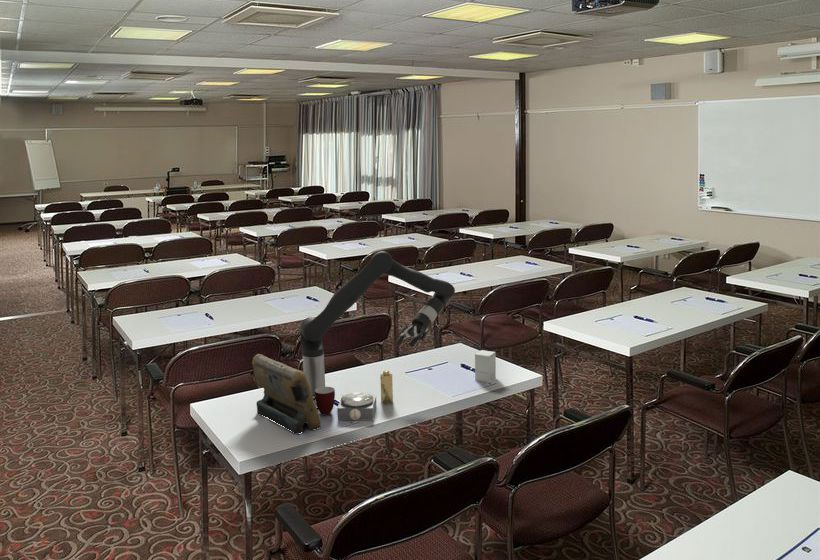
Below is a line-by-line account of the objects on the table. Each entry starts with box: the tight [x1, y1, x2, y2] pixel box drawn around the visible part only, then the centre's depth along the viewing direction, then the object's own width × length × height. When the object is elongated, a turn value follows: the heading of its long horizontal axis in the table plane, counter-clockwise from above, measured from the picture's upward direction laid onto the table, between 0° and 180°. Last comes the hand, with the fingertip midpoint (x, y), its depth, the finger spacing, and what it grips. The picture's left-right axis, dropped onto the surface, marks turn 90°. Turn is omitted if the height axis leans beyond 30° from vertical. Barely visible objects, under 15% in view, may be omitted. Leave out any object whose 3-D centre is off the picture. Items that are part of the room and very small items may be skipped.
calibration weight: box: [379, 369, 394, 405], centre depth 284 cm, size 5×5×14 cm
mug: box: [313, 386, 336, 416], centre depth 273 cm, size 10×8×10 cm
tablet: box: [251, 353, 322, 434], centre depth 266 cm, size 33×14×25 cm, turn 48°
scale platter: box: [340, 391, 373, 407], centre depth 273 cm, size 13×13×1 cm
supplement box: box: [474, 349, 497, 383], centre depth 309 cm, size 7×7×13 cm
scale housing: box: [336, 394, 377, 421], centre depth 273 cm, size 14×15×5 cm
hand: (403, 344), depth 285 cm, fingers open, 8 cm apart
